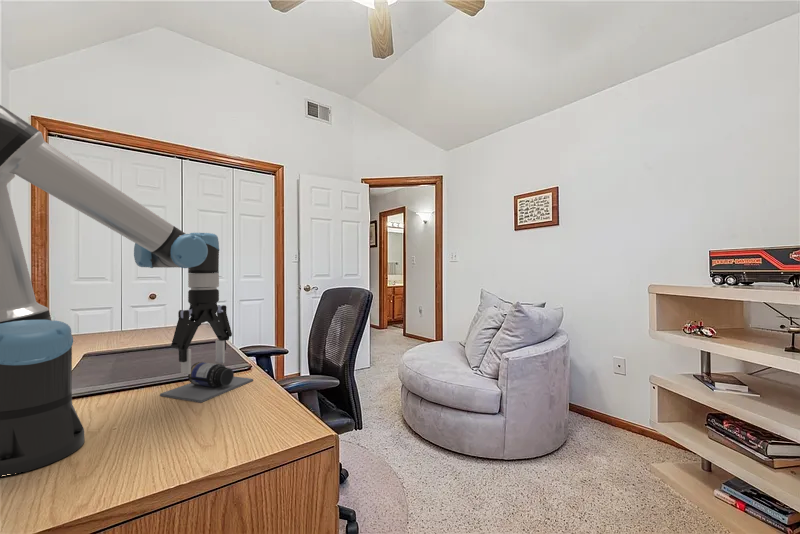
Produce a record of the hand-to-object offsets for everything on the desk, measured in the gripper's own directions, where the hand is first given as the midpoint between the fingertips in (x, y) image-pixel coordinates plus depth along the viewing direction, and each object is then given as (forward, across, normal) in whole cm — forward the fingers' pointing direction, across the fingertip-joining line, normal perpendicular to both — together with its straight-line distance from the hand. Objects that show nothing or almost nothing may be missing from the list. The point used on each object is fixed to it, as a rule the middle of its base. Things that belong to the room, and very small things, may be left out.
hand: (203, 367), depth 100 cm
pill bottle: (+2, 0, -3) cm, 4 cm away
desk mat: (+5, 0, +2) cm, 6 cm away
